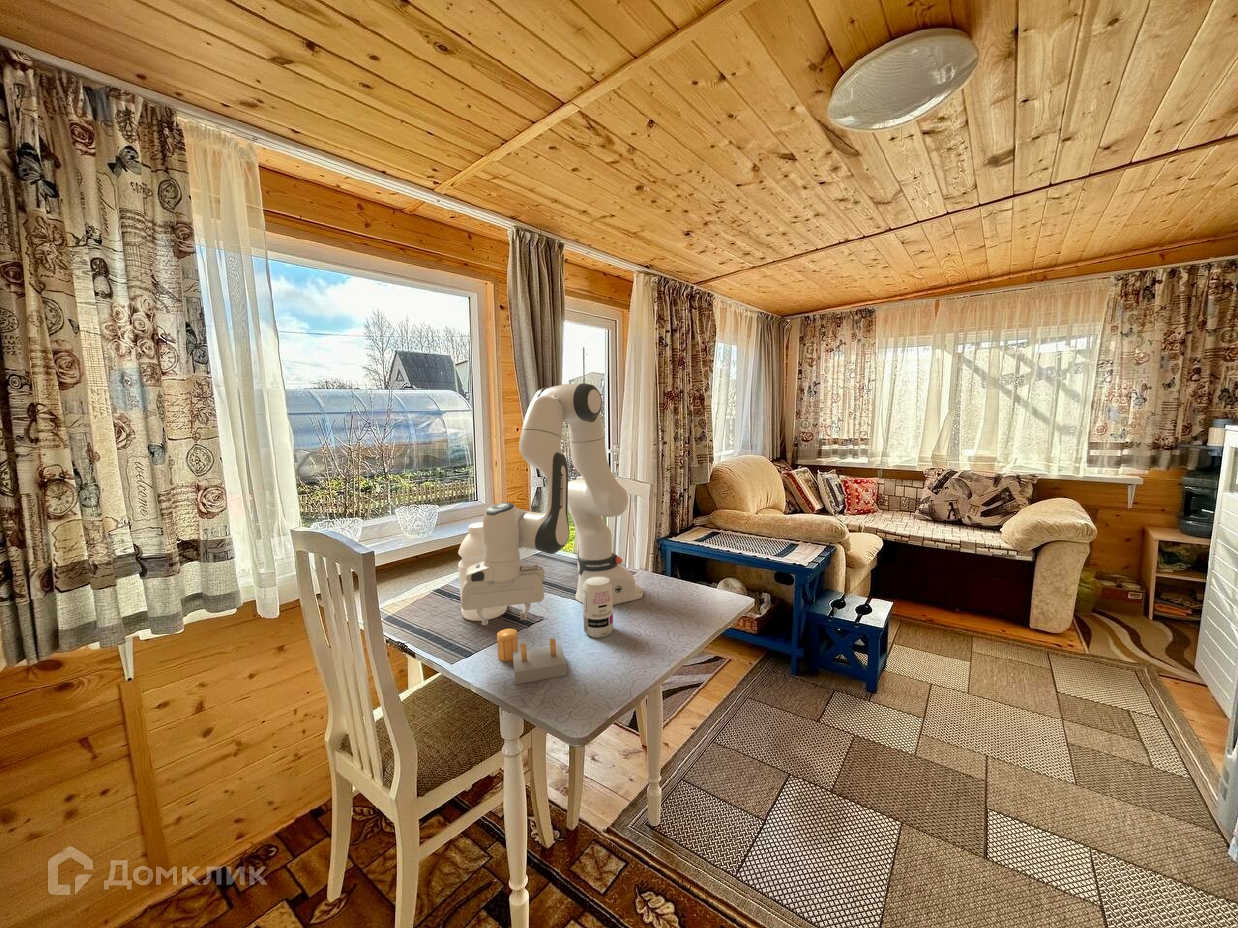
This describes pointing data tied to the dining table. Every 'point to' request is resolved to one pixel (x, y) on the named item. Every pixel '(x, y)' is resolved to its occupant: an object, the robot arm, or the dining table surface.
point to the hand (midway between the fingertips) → (504, 621)
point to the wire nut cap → (507, 644)
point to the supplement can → (597, 606)
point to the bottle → (471, 555)
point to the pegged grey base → (539, 663)
